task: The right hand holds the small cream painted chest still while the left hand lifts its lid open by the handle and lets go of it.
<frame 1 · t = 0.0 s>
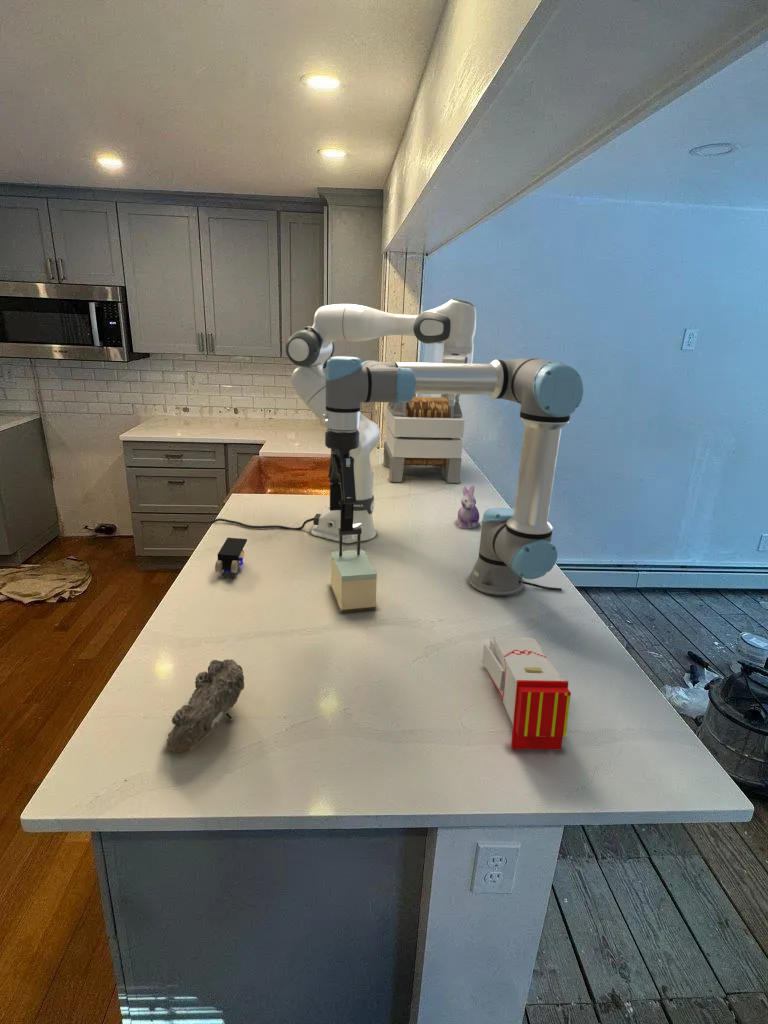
left hand: (454, 403, 174), 48 cm above the counter, tool pointing down, fingers open, 8 cm apart
right hand: (340, 519, 132), 28 cm above the counter, tool pointing down, fingers open, 13 cm apart
figurine: (467, 525, 211), on the counter
chest: (352, 597, 155), on the counter
fossil: (212, 717, 108), on the counter
figurine character: (232, 569, 168), on the counter
lid: (353, 550, 150), point 14 cm above the counter, hinge at 0.0°
transformer: (419, 473, 275), on the counter
toy: (517, 701, 116), on the counter
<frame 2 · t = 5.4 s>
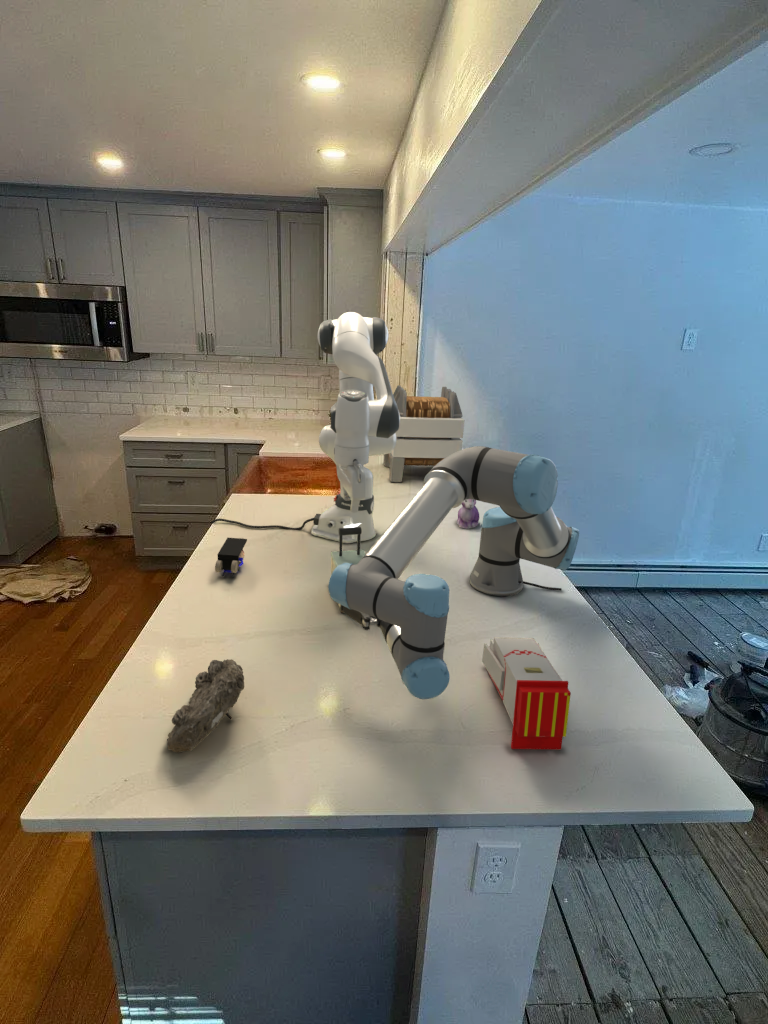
left hand: (350, 505, 151), 25 cm above the counter, tool pointing down, fingers open, 8 cm apart
right hand: (380, 586, 126), 17 cm above the counter, tool horizontal, fingers open, 13 cm apart
nothing on the counter moved.
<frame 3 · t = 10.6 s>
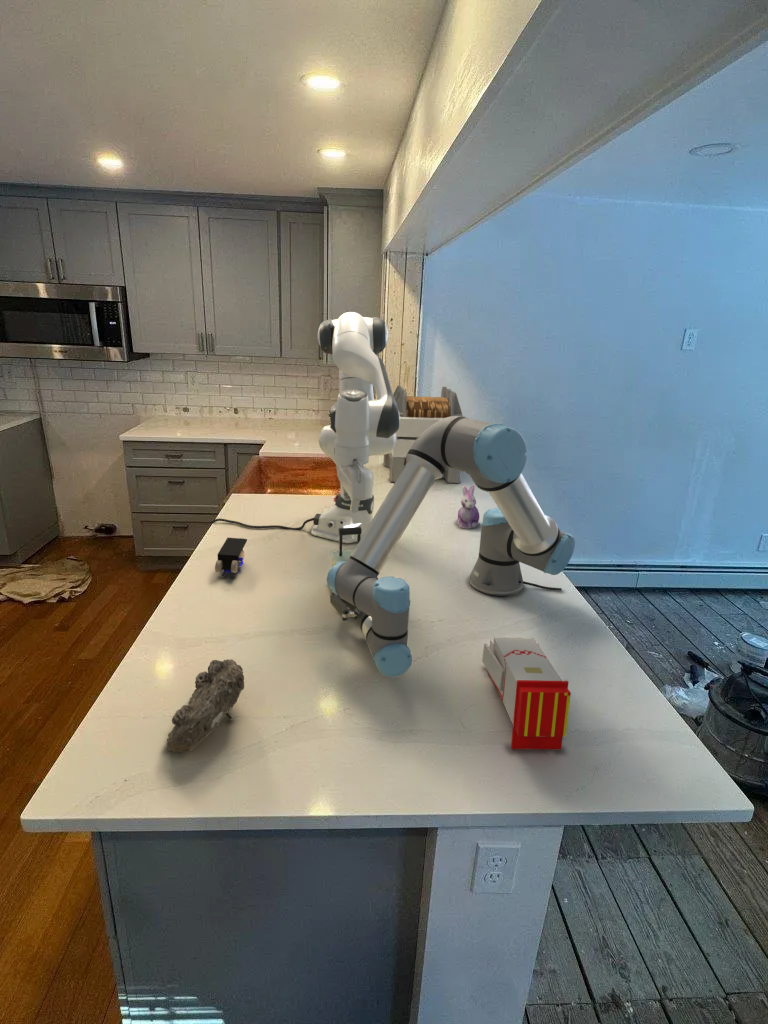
left hand: (350, 505, 151), 25 cm above the counter, tool pointing down, fingers open, 8 cm apart
right hand: (356, 581, 149), 7 cm above the counter, tool horizontal, fingers closed on chest, 9 cm apart
chest: (352, 597, 155), on the counter, touching right hand
everything else where it was.
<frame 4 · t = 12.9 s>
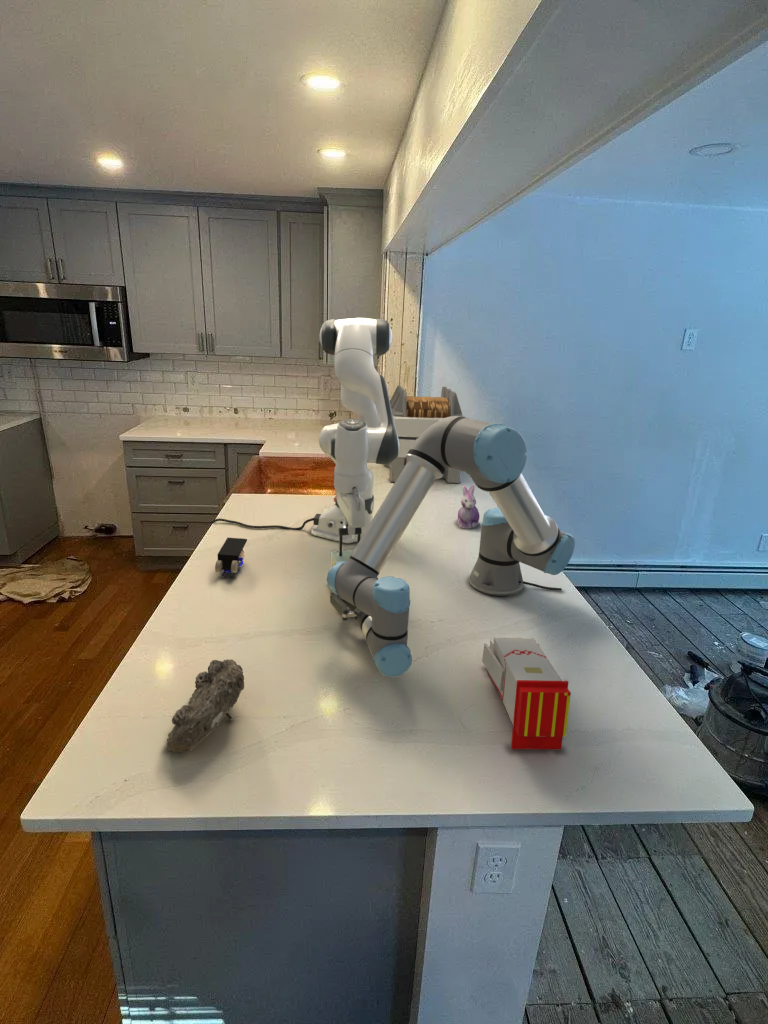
left hand: (349, 531, 153), 18 cm above the counter, tool pointing down, fingers closed on lid, 2 cm apart
right hand: (356, 581, 149), 7 cm above the counter, tool horizontal, fingers closed on chest, 9 cm apart
chest: (352, 597, 155), on the counter, touching right hand
lid: (353, 550, 150), point 14 cm above the counter, hinge at 0.0°, touching left hand
everything else where it was.
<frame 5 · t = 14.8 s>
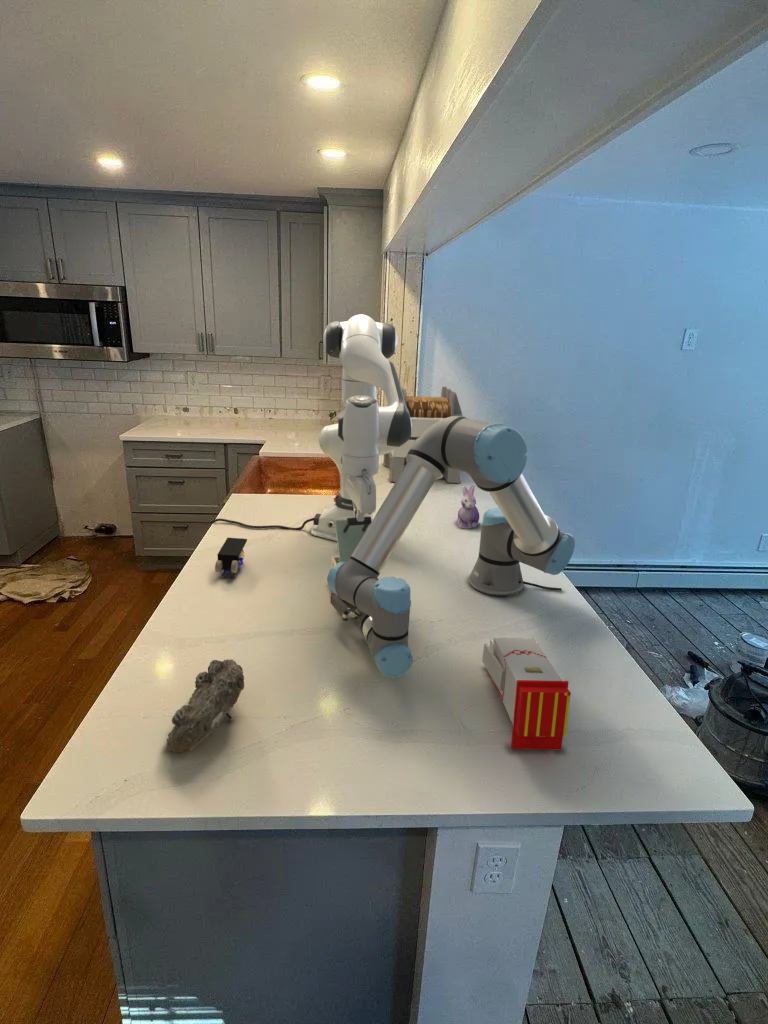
left hand: (358, 518, 142), 25 cm above the counter, tool pointing down, fingers closed, pressing on lid
right hand: (356, 581, 149), 7 cm above the counter, tool horizontal, fingers closed on chest, 9 cm apart
chest: (352, 597, 155), on the counter, touching right hand
lid: (358, 543, 144), point 18 cm above the counter, hinge at 48.5°, touching left hand
everything else where it was.
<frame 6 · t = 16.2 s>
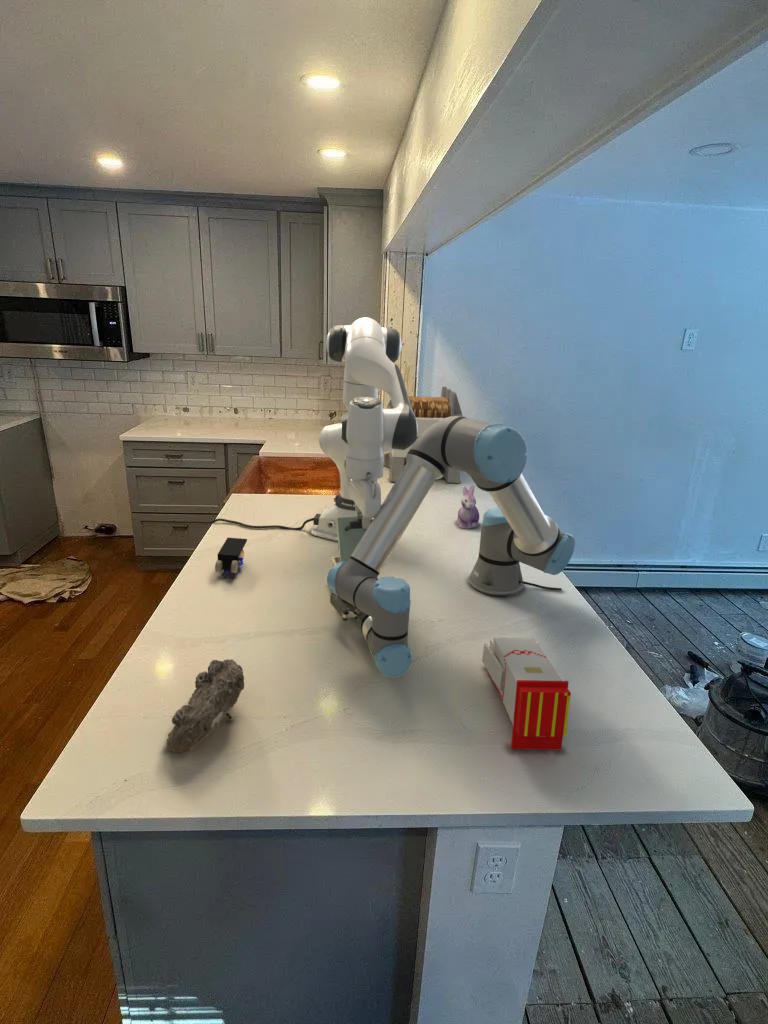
left hand: (362, 523, 137), 25 cm above the counter, tool pointing down, fingers open, 5 cm apart
right hand: (356, 581, 149), 7 cm above the counter, tool horizontal, fingers closed on chest, 9 cm apart
chest: (352, 597, 155), on the counter, touching right hand
lid: (360, 545, 142), point 19 cm above the counter, hinge at 59.6°, touching left hand
everything else where it was.
when the right hand's fingers open (7 cm above the counter, at t = 20.0 s): chest stays where it is, on the counter.
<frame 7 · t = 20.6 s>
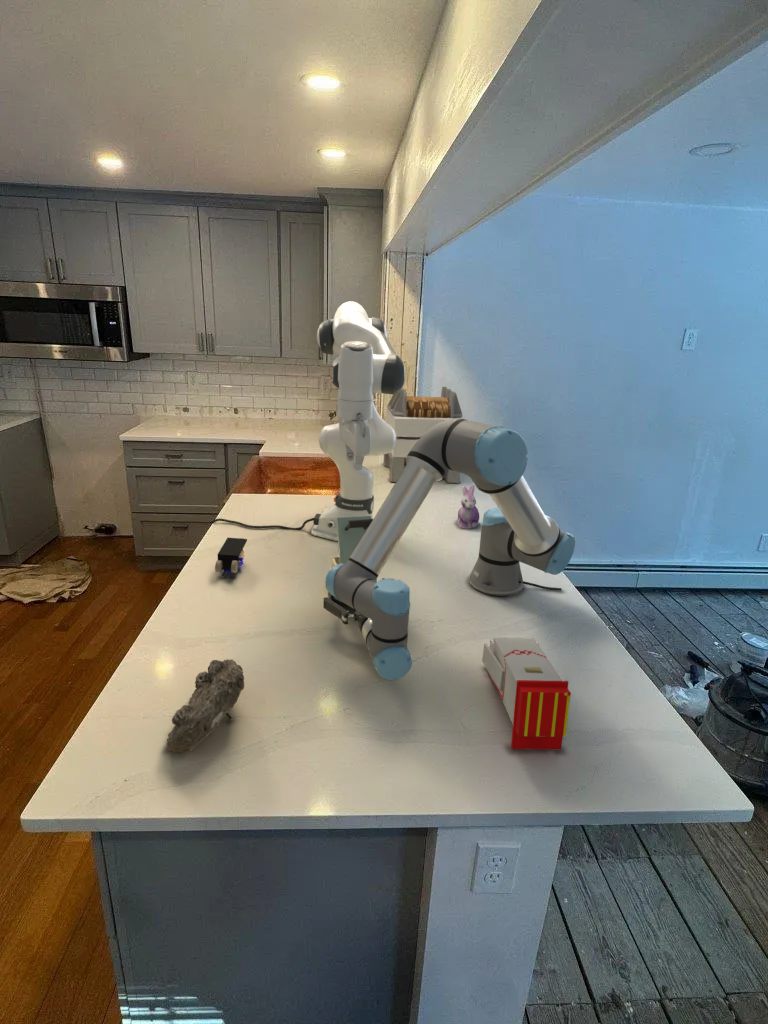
left hand: (353, 464, 145), 37 cm above the counter, tool pointing down, fingers open, 8 cm apart
right hand: (357, 584, 147), 7 cm above the counter, tool horizontal, fingers open, 13 cm apart
chest: (352, 597, 155), on the counter
lid: (359, 544, 142), point 19 cm above the counter, hinge at 58.4°
everything else where it was.
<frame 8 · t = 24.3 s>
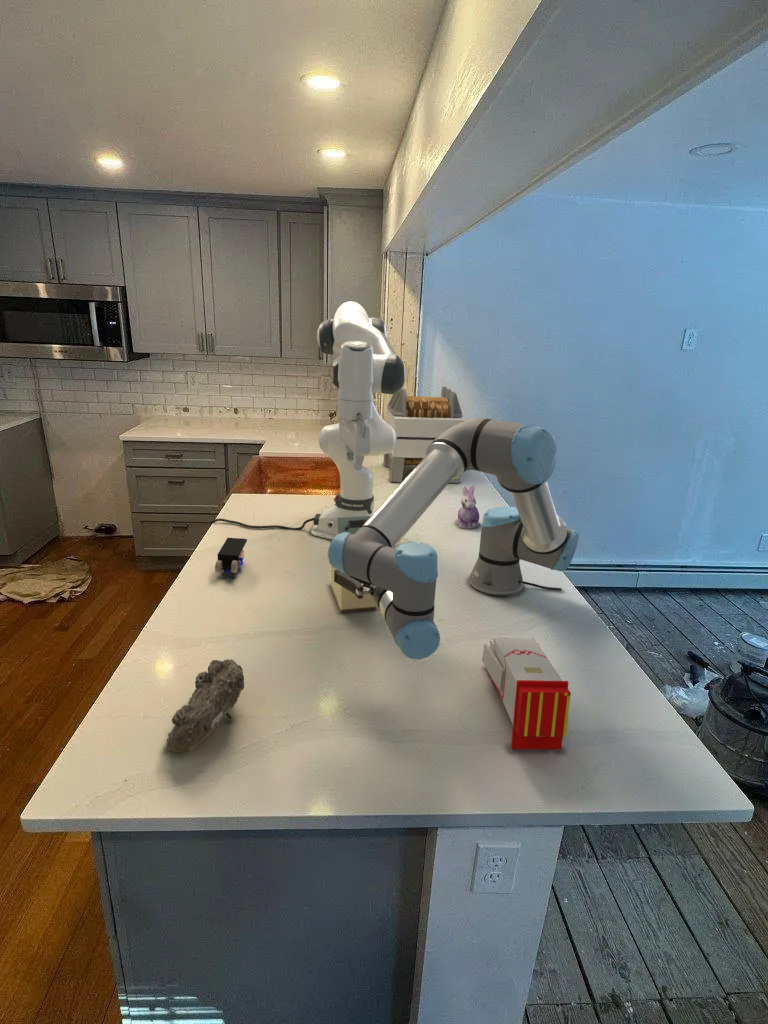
left hand: (353, 464, 145), 37 cm above the counter, tool pointing down, fingers open, 8 cm apart
right hand: (371, 557, 131), 20 cm above the counter, tool horizontal, fingers open, 13 cm apart
nothing on the counter moved.
at the end: lid at +58° (first picture: +0°); the left hand is holding nothing; the right hand is holding nothing; chest tilted 0°; chest never tilted more than 1° during the clip; chest moved 0.1 cm from its start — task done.
